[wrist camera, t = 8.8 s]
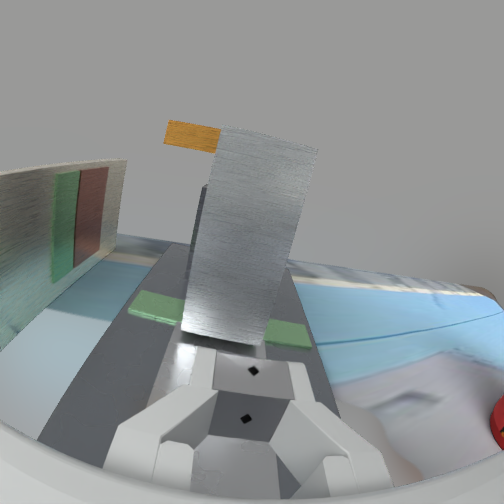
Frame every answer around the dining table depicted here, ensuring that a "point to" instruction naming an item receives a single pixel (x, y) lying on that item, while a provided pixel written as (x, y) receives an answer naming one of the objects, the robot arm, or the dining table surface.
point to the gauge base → (132, 324)
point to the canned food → (498, 422)
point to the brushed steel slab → (242, 228)
